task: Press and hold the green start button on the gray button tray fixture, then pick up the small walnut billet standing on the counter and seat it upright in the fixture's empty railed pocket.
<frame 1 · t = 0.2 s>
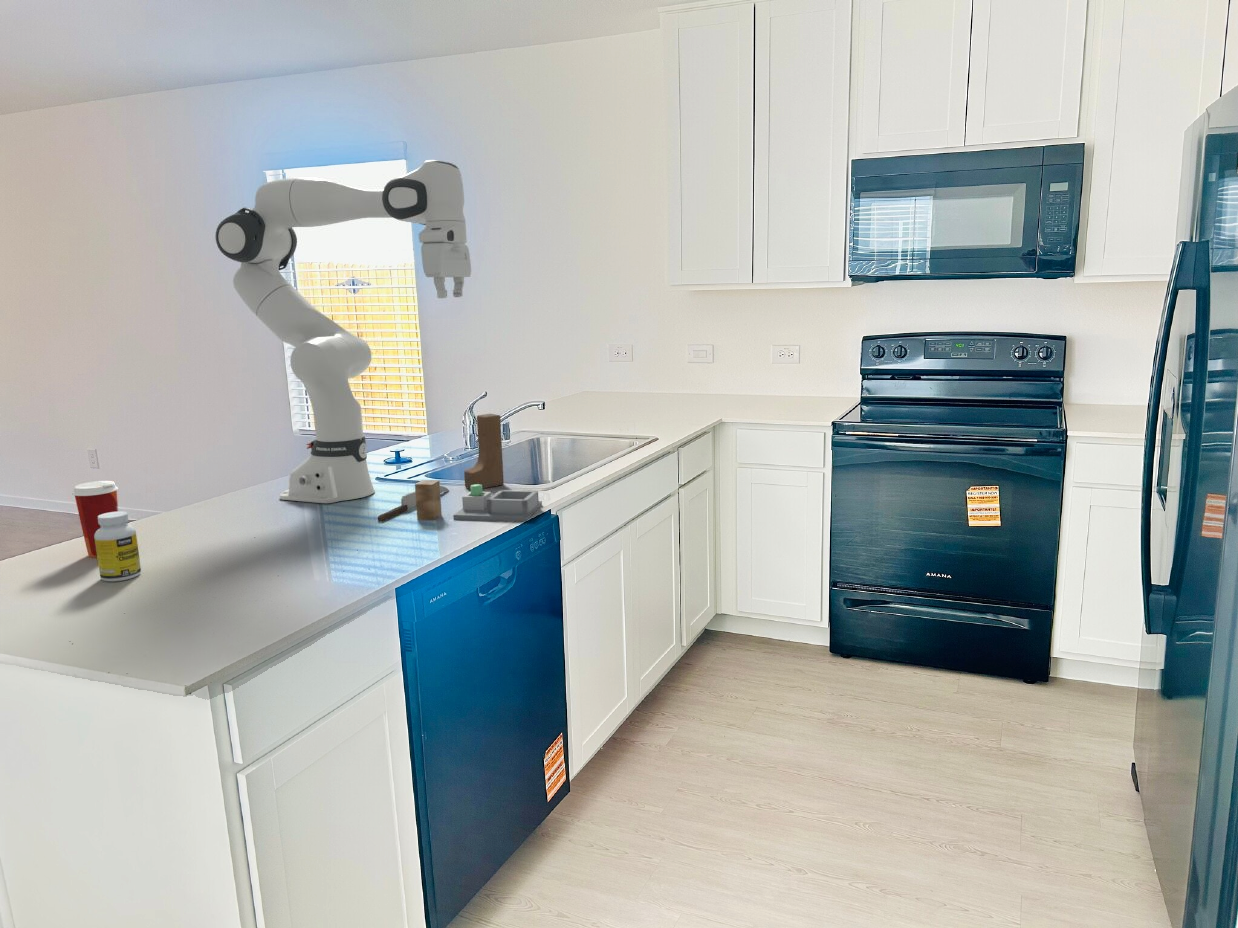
hand: (450, 297, 200), 47 cm above the countertop, fingers open, 8 cm apart
gray button tray fixture: (498, 512, 196), on the countertop
billet: (429, 517, 193), on the countertop
paper cup: (104, 554, 172), on the countertop
kitchen knife: (417, 507, 204), on the countertop
pill bottle: (121, 577, 158), on the countertop
wooden block: (484, 487, 221), on the countertop
start button: (476, 492, 196), point 4 cm above the countertop, slide at 0.0 cm
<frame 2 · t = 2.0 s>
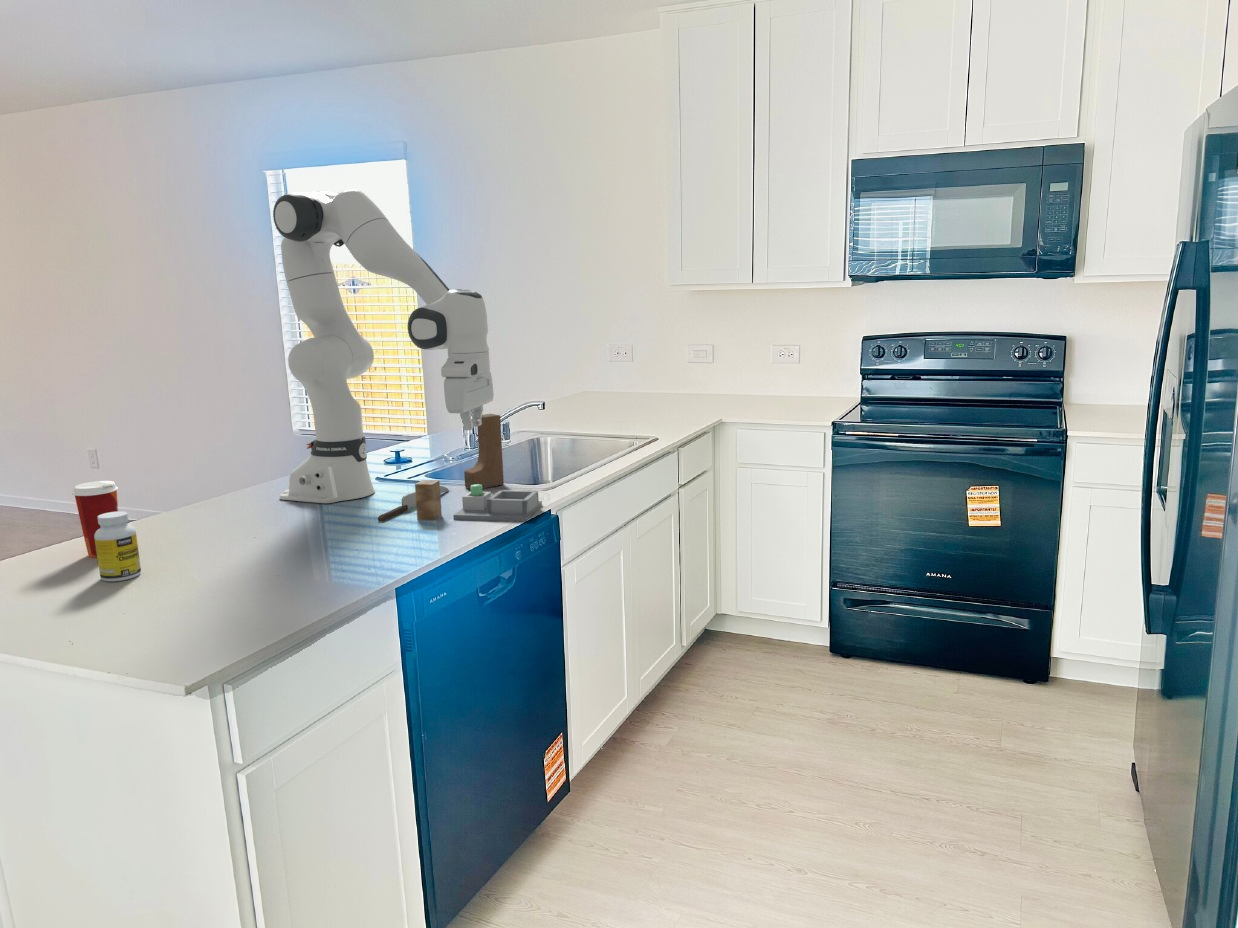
hand: (472, 427, 193), 19 cm above the countertop, fingers open, 4 cm apart
nothing on the countertop moved.
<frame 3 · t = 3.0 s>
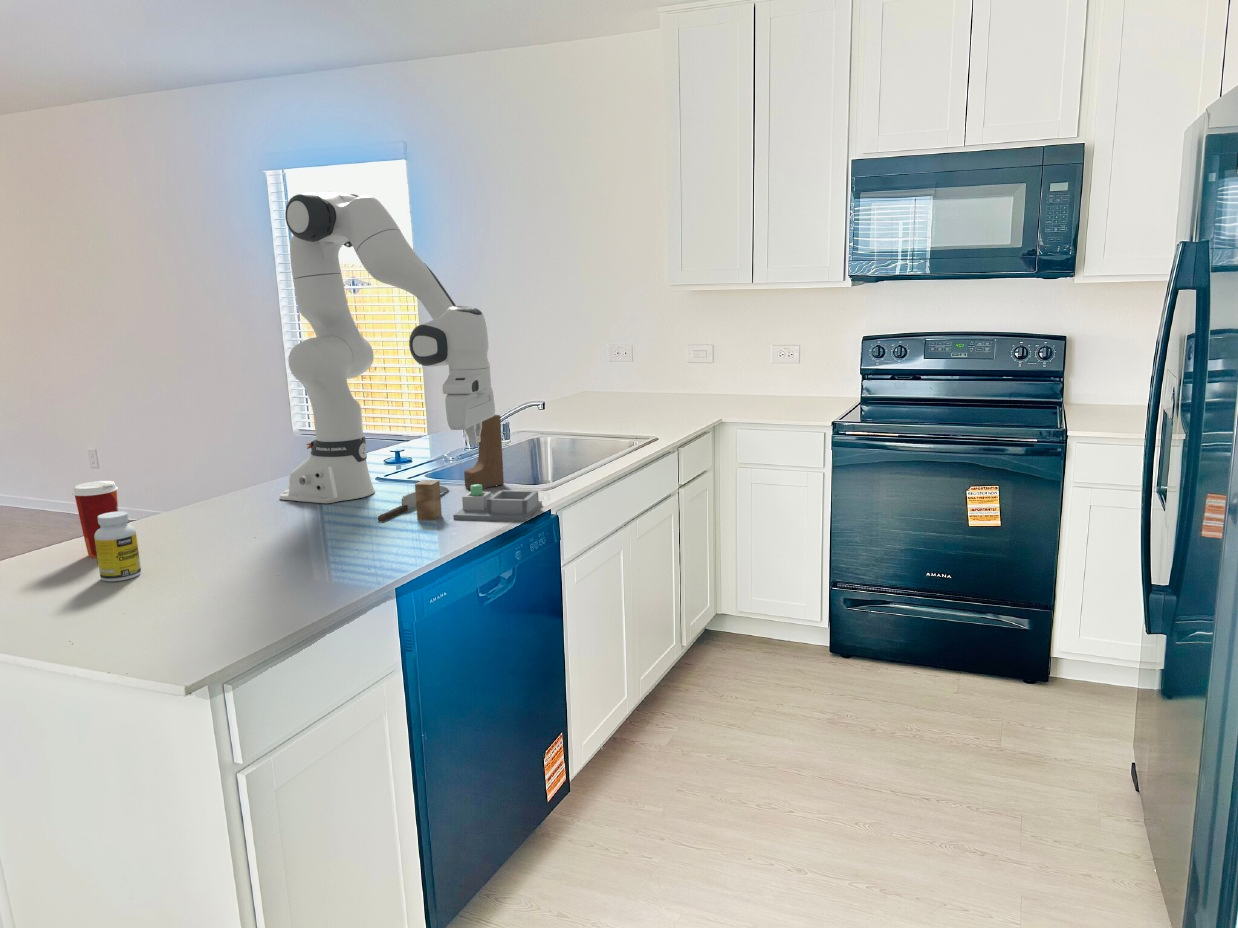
hand: (474, 443, 194), 16 cm above the countertop, fingers closed
nothing on the countertop moved.
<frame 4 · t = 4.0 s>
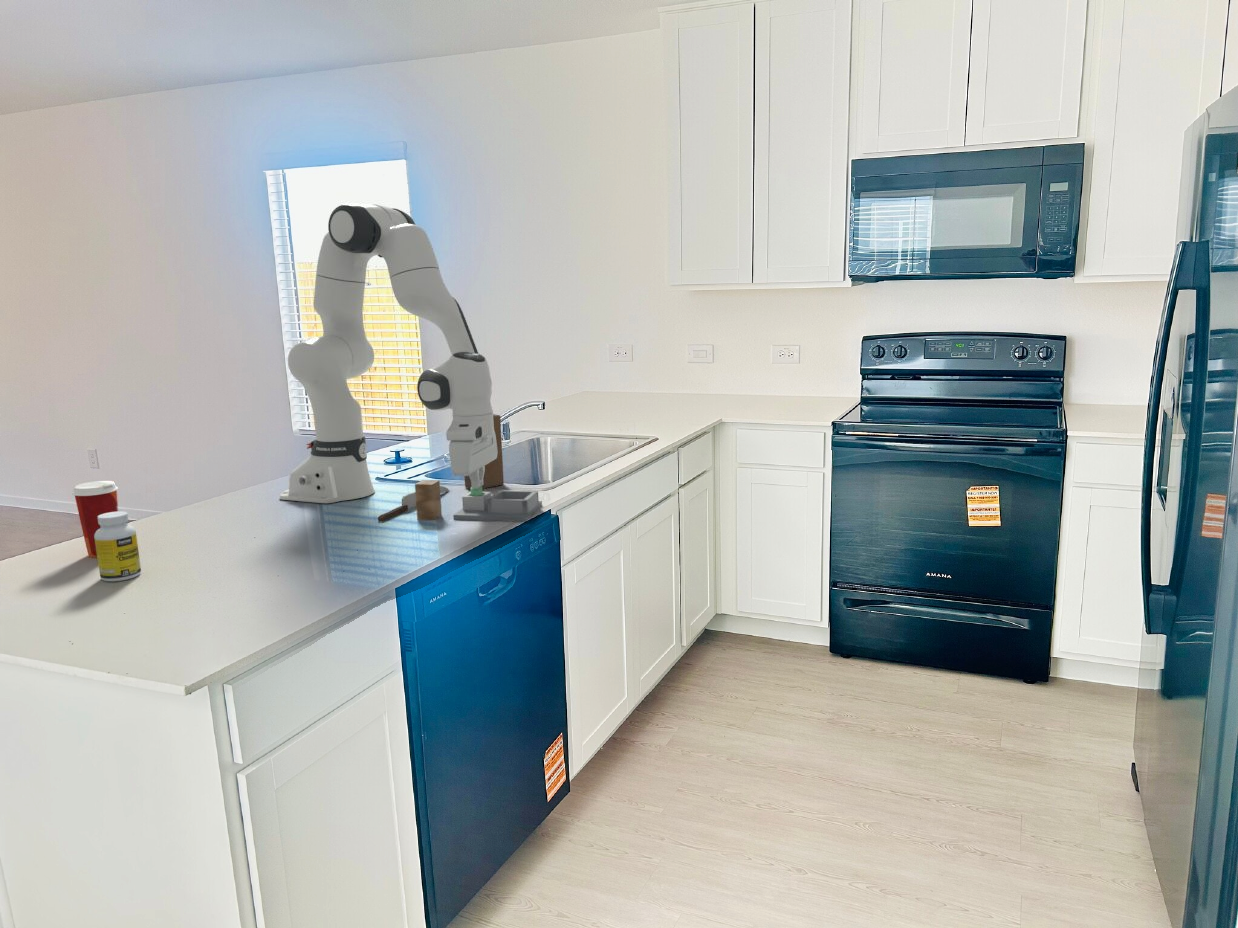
hand: (477, 487, 196), 6 cm above the countertop, fingers closed, pressing on start button
start button: (476, 493, 196), point 4 cm above the countertop, slide at 0.4 cm, touching gripper
everything else where it was.
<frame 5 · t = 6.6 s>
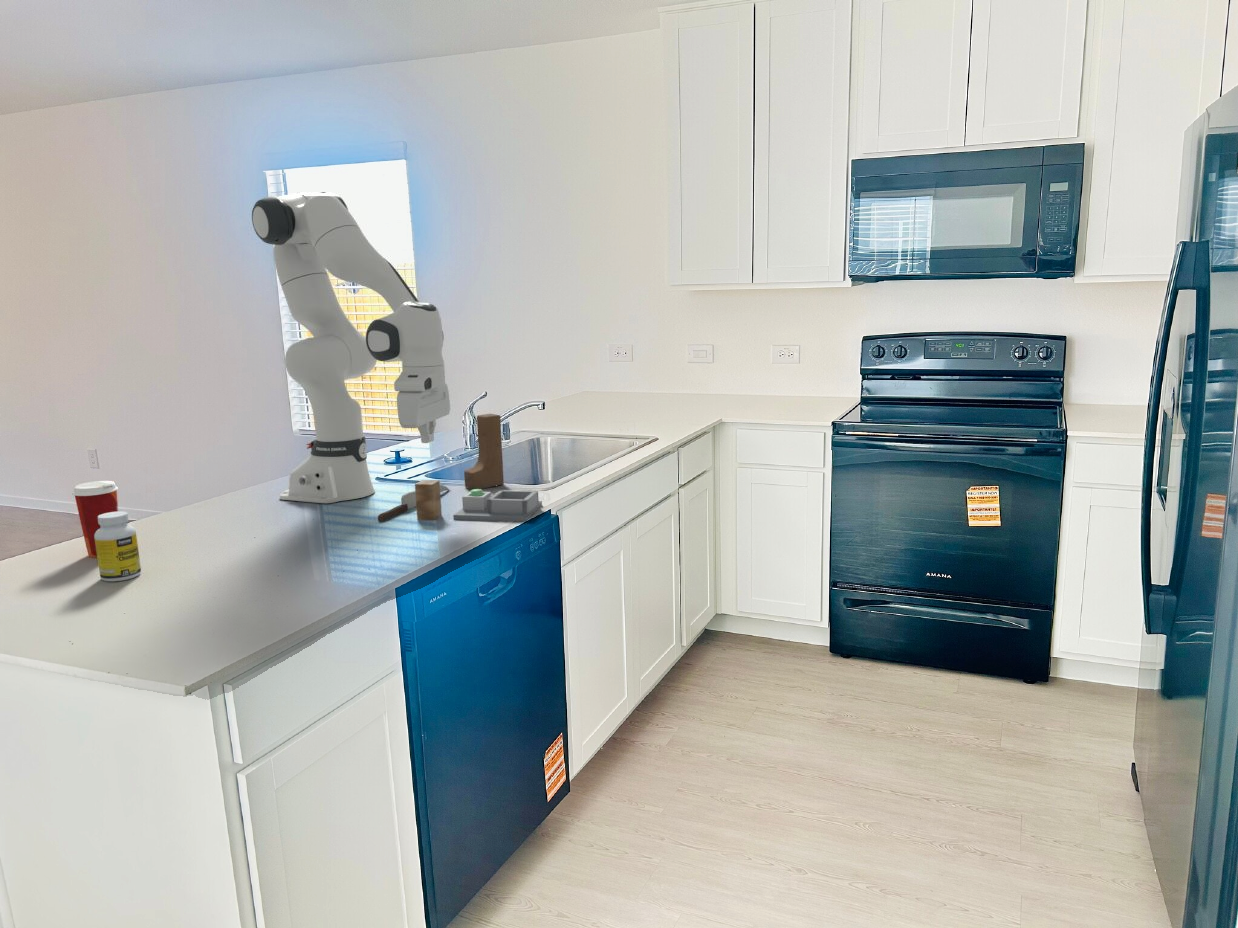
hand: (427, 442, 190), 17 cm above the countertop, fingers closed
start button: (476, 496, 196), point 3 cm above the countertop, slide at 1.1 cm
everything else where it was.
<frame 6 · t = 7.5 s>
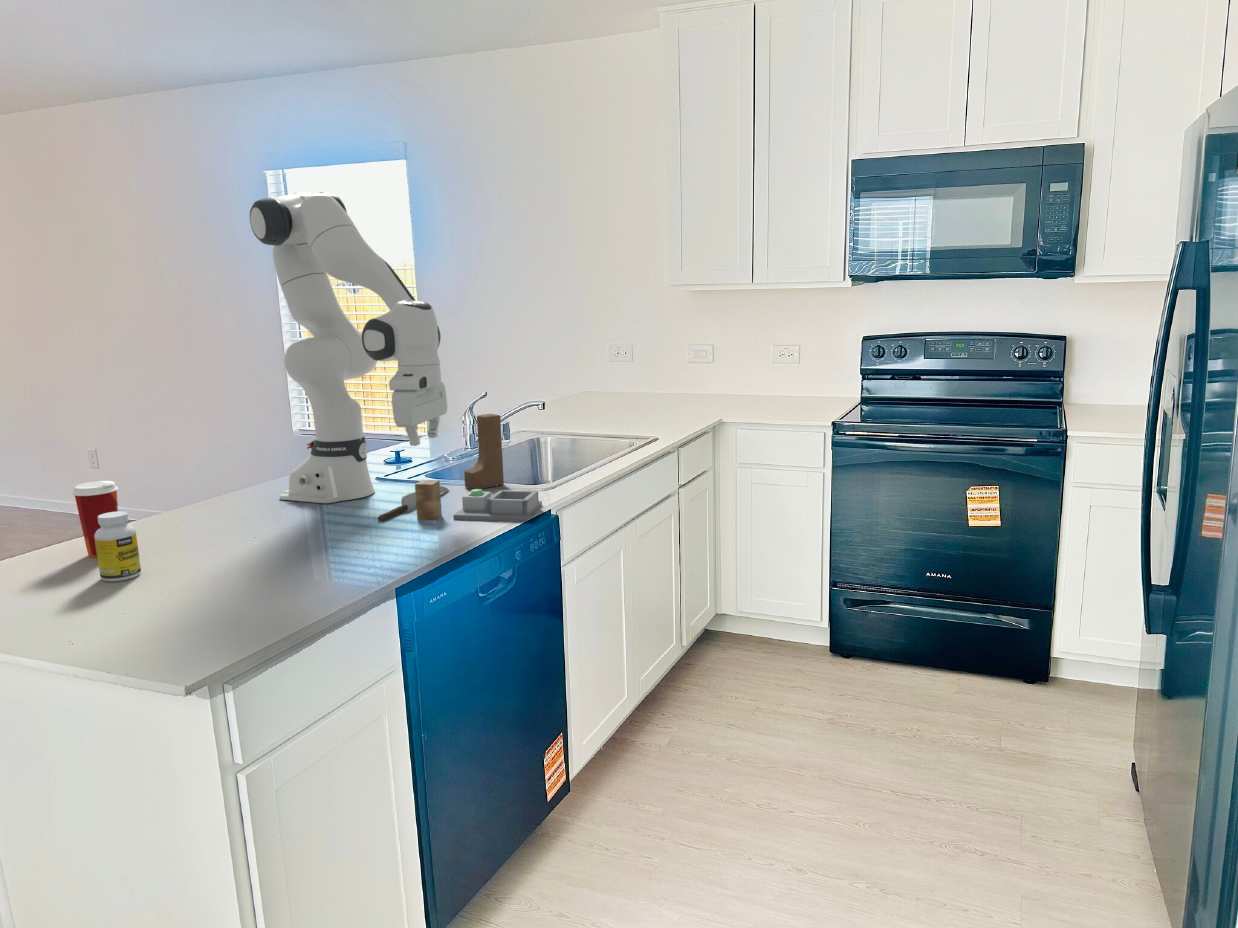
hand: (424, 441, 189), 17 cm above the countertop, fingers open, 8 cm apart
nothing on the countertop moved.
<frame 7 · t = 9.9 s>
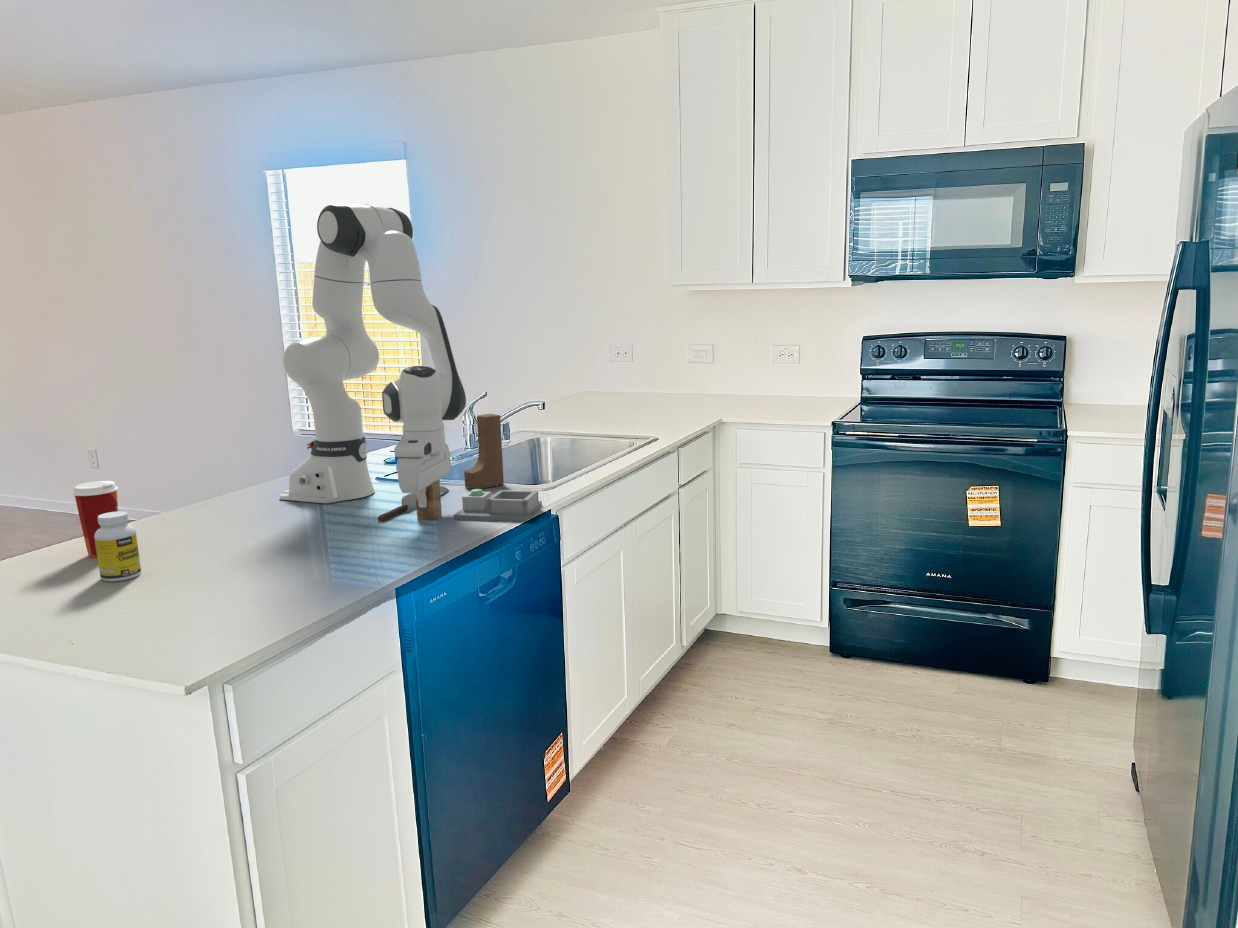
hand: (428, 503, 192), 3 cm above the countertop, fingers closed on billet, 4 cm apart
billet: (429, 517, 193), on the countertop, touching gripper
everything else where it was.
when the fingers open (6 cm above the countertop, at t = 15.3 s): billet drops 1 cm, resting on gray button tray fixture.
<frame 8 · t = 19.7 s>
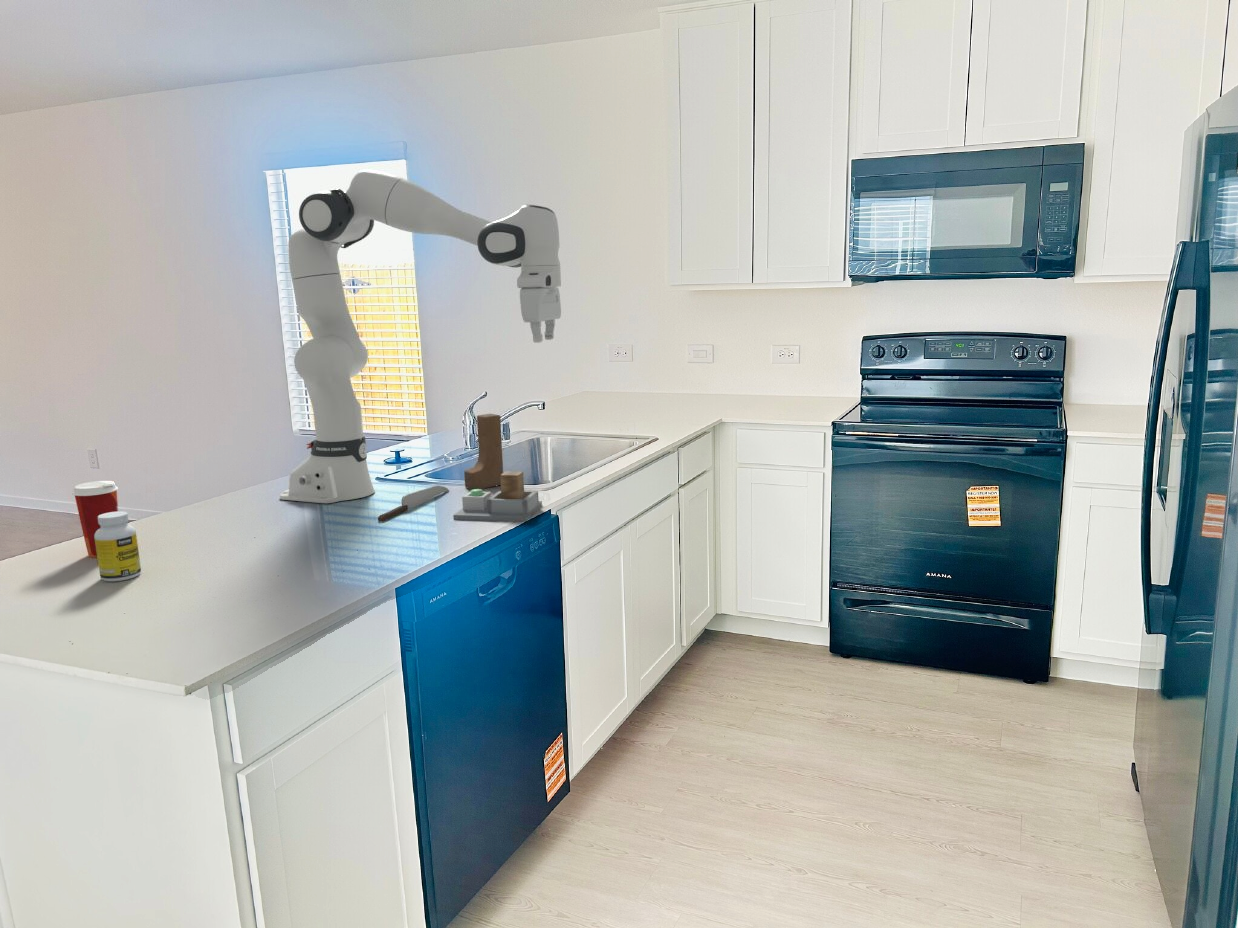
hand: (543, 341, 200), 37 cm above the countertop, fingers open, 8 cm apart
billet: (513, 508, 195), point 1 cm above the countertop, touching gray button tray fixture
everything else where it was.
at the end: billet inside the target area on the gray button tray fixture (0.0 cm from its centre), point 1.0 cm above the gray button tray fixture's base; billet tilted 0°; the gripper is holding nothing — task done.
